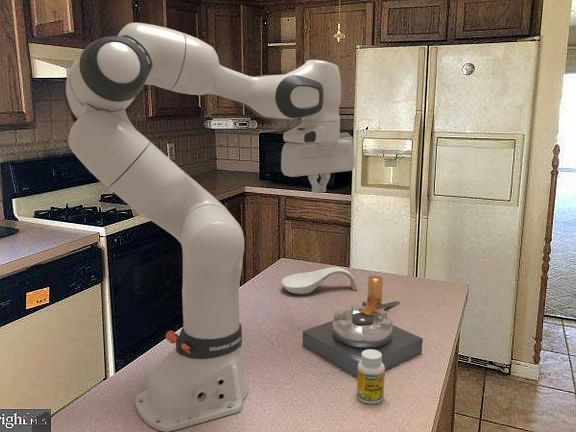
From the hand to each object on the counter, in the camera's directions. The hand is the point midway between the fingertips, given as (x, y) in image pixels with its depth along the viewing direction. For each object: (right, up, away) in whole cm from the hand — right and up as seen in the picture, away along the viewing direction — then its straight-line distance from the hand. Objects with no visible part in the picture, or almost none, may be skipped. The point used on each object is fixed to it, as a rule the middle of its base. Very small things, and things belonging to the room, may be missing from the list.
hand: (318, 192), depth 122 cm
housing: (+10, -38, +1) cm, 39 cm away
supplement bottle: (+9, -42, -18) cm, 47 cm away
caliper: (+19, -33, +23) cm, 45 cm away
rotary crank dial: (+11, -33, +3) cm, 35 cm away
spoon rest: (+2, -29, +40) cm, 50 cm away
